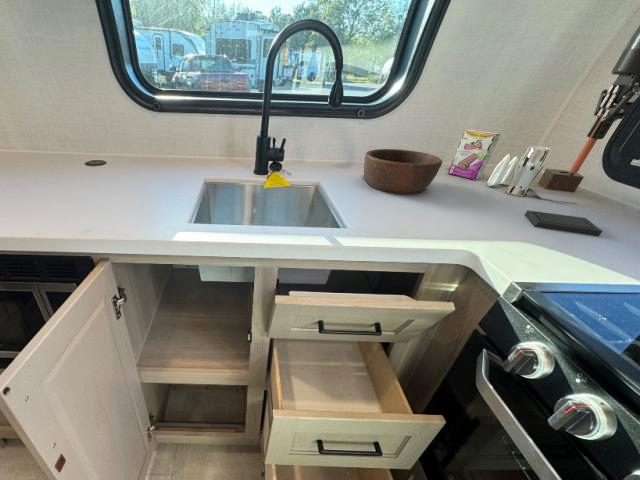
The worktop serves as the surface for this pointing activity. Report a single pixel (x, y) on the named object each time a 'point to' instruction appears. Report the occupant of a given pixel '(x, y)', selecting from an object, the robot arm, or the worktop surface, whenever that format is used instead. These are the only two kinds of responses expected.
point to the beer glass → (528, 169)
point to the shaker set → (503, 171)
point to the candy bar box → (473, 154)
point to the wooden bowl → (400, 170)
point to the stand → (560, 180)
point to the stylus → (583, 154)
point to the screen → (562, 220)
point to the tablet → (561, 227)
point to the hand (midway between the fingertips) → (594, 137)
